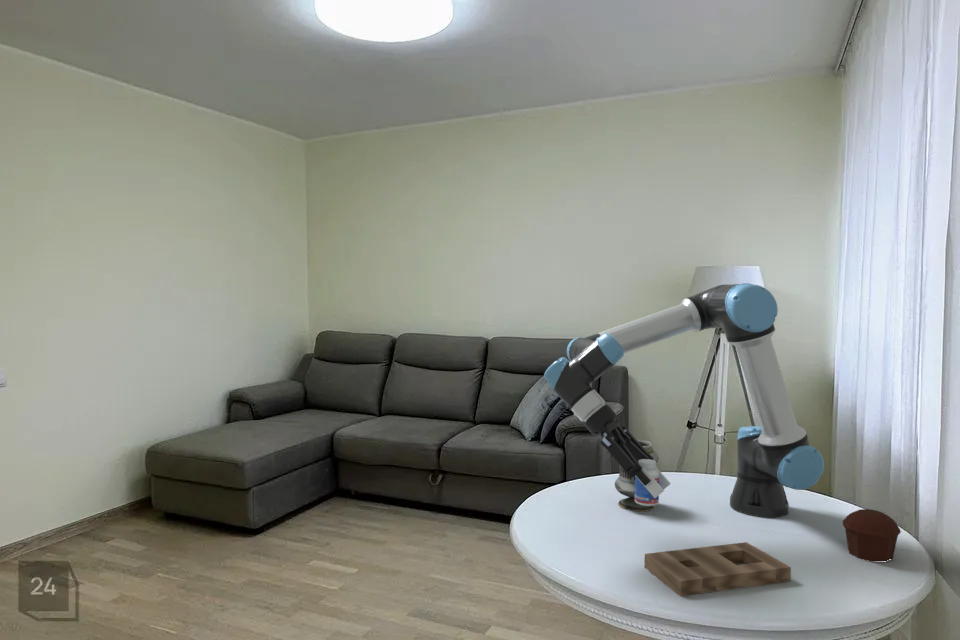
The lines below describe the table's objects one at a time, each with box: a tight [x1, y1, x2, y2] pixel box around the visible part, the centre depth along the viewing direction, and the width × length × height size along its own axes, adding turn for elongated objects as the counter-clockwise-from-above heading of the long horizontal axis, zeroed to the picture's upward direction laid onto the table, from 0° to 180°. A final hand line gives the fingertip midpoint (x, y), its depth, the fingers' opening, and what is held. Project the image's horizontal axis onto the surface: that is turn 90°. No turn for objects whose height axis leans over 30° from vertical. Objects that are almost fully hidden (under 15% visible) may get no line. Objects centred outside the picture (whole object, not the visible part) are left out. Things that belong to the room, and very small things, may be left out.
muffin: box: [842, 508, 901, 562], centre depth 149 cm, size 12×11×10 cm
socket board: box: [644, 541, 792, 597], centre depth 138 cm, size 26×14×3 cm, turn 105°
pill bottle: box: [635, 459, 660, 507], centre depth 150 cm, size 6×5×10 cm
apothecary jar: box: [614, 439, 659, 512], centre depth 183 cm, size 12×12×18 cm
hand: (662, 490), depth 148 cm, fingers closed on pill bottle, 5 cm apart
